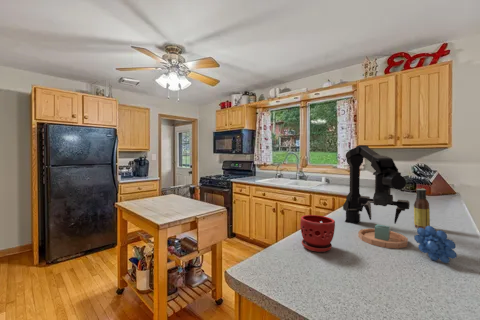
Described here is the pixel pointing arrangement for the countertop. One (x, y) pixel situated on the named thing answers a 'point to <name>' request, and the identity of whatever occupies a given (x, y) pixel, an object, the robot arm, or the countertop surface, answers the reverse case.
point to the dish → (393, 242)
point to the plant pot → (317, 232)
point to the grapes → (435, 244)
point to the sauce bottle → (421, 210)
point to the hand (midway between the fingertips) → (382, 221)
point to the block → (382, 232)
